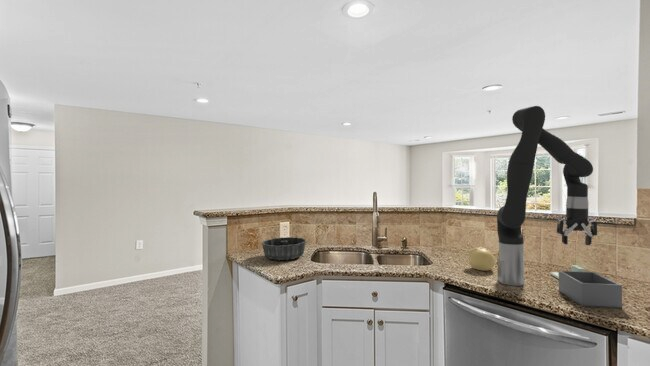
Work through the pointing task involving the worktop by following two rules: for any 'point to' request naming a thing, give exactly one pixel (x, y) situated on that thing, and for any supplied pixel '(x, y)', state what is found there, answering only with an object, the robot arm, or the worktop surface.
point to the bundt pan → (284, 248)
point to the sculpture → (481, 259)
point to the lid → (573, 268)
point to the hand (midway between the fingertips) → (576, 244)
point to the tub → (590, 289)
